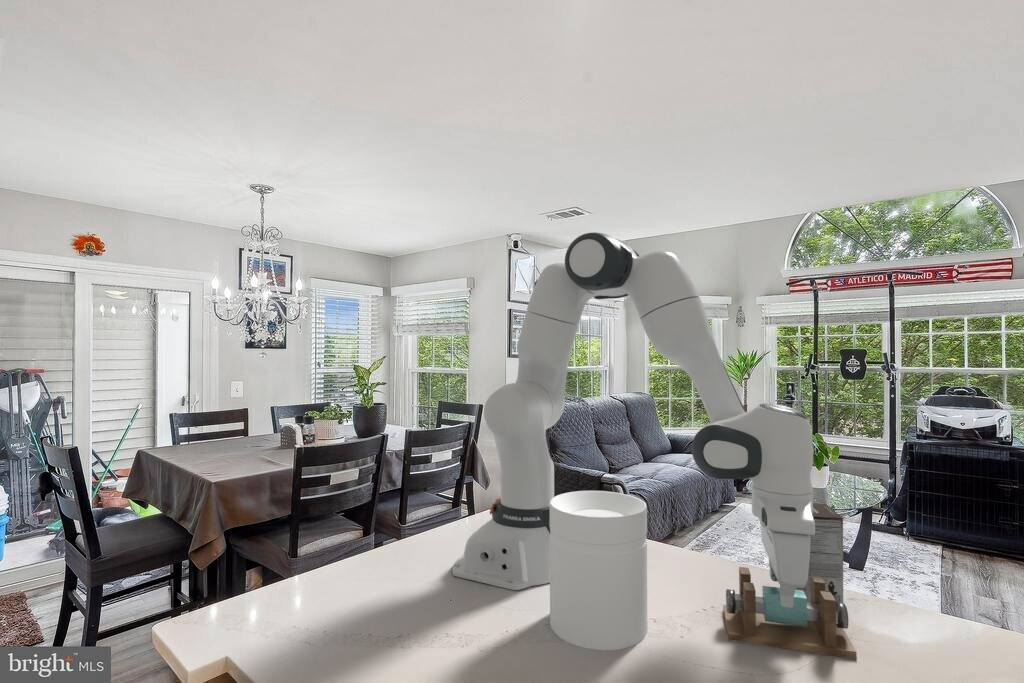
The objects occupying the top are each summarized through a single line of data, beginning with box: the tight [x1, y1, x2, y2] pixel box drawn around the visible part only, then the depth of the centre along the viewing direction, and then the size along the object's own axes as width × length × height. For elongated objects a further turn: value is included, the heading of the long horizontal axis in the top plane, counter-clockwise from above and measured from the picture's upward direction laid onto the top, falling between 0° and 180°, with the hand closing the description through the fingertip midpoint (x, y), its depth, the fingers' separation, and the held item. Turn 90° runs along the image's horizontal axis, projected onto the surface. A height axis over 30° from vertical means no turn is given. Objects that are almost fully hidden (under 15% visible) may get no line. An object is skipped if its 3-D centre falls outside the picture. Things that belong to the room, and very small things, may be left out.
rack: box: [723, 566, 858, 659], centre depth 87 cm, size 18×10×8 cm, turn 73°
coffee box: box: [796, 502, 844, 603], centre depth 100 cm, size 9×6×16 cm
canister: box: [549, 490, 649, 652], centre depth 90 cm, size 16×16×20 cm
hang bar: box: [725, 585, 850, 630], centre depth 87 cm, size 17×4×4 cm, turn 73°
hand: (780, 592), depth 88 cm, fingers open, 8 cm apart
